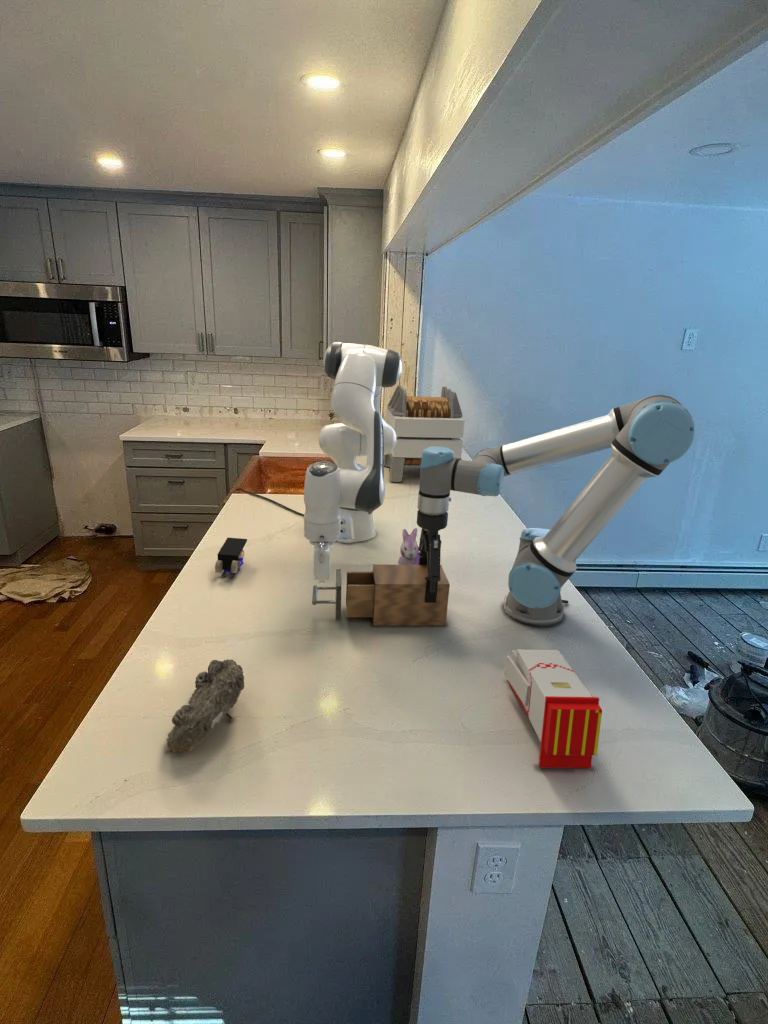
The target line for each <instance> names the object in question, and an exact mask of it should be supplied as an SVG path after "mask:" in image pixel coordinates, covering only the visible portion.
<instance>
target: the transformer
mask: <svg viewBox="0 0 768 1024" xmlns="http://www.w3.org/2000/svg"><path fill="white" fill-rule="evenodd" d="M440 393H441V394H440V396H415V395H414V396H413V395H412V396H411V395H407V394H408V393H407V390H406V389H404V388H403V387H402V385H399V384H398V385H397V386H396V388H395V390H394V392H393V394H392V395H391V398H390V400H389V402H388V404H387V405H386V413H385V414H386V415H385V422H386V423H387V424H389V425H390V426H391V427H392V428H393V429H394V431H395V433H396V436H397V443H396V446H395V449H394V450H393V451H392V452H391V453H390V454H386V455H384V467H388V468H389V475H388V476H389V477H388V478H389V480H390V482H391V483H402V482H403V475H404V469H405V466H406V467H407V466H411V467H412V466H413V467H415V466H416V467H417V466H418V467H420V466H421V459H422V452H423V450H424V449H426V448H428V447H445V448H449V449H451V450H452V451H453V456H454V458H455V459H460V460H463V459H462V453H463V442H464V441H463V440H462V439H463V438H464V431H465V430H464V429H465V419H464V418H463V411H462V408H461V405H460V402H459V398H458V395H457V392H455V391H453V390H452V389H451V388H447V386H442V387H441V392H440Z"/></svg>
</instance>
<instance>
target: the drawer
mask: <svg viewBox="0 0 768 1024" xmlns="http://www.w3.org/2000/svg"><path fill="white" fill-rule="evenodd" d="M345 586H346V588H345V610H346V618H372V617H374V599H375V582H374V575H373V572H372V571H346V585H345ZM318 590H323V591H326V590H327V591H328V590H329V591H335V599H334V600H318ZM311 595H312V596H311V597H312V598H311V604H312V605H313V606H316V605H320V604H321V605H322V604H325V605H327V604H329V605H333V604H334V605H335V606H334V608H335V622H340V621H341V619H342V617H341V616H342V614H341V613H342V569H341V568H336V569H335V586H317V585H316V584H314V585H313V586H312V594H311Z"/></svg>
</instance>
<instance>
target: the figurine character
mask: <svg viewBox="0 0 768 1024" xmlns="http://www.w3.org/2000/svg"><path fill="white" fill-rule="evenodd" d="M247 542H248V538H240V537H226V539H225V541H224V543H223V544H222V546H221V547H220V549H219V551H218V552H217V560H216V562H215V564H214V572H215V573H221V577H222V578H224V577H225V576H226V574H227V573H230V574H231V573H232V574H231V578H234V577H235V575H236V573H237V572H239V571H240V567H242V566H243V565H244V564H245V562H244V558H245V551H244V547H245V546H246V544H247Z"/></svg>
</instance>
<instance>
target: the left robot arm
mask: <svg viewBox="0 0 768 1024" xmlns="http://www.w3.org/2000/svg"><path fill="white" fill-rule="evenodd" d="M323 367H324V368H323V369H324V373H325V374H326V375H327V376H328V377H329V378H331V379H333V380H334V383H333V386H332V391H331V397H330V408H331V412H332V415H334V417H335V418H336V419H337V420H338V421H339V422H335V423H330V424H325V425H323V427H322V428H321V430H320V432H319V435H318V445H319V447H320V449H321V451H322V452H323V453H324V454H325V455H326V456H328V457H329V458H330V459H331V460H332V461H328V460H319V461H315V462H312V463H311V464H309V465H308V467H307V468H306V471H305V476H304V482H303V483H304V485H303V503H304V506H305V510H304V513H302V512H299V511H296V510H295V509H293V508H291V507H288V506H285V505H283V504H282V503H279V502H278V501H275V500H273V499H271V498H268V497H266V496H263V495H260V494H257V493H255V492H251V491H248V490H245V489H243V488H240V487H238V488H236V489H235V491H236V492H237V491H241V492H243V493H246V494H248V495H253V496H256V497H258V498H261V499H264V500H266V501H269V502H271V503H274V504H276V505H278V506H279V507H282V508H284V509H285V510H288V511H290V512H292V513H294V514H297V515H299V516H302V517H303V536H304V538H305V539H306V540H308V542H309V544H310V545H312V546H313V565H312V566H313V573H312V574H313V576H312V577H313V580H314V581H317V582H318V583H319V584H320V583H322V584H324V583H326V581H328V580H329V579H330V559H331V558H330V553H331V551H330V549H331V546H333V545H334V544H335V543H336V542H339V543H343V544H352V543H357V542H365V541H368V540H372V539H373V538H375V537H376V535H377V532H376V528H375V523H374V513H373V512H375V511H376V510H377V509H378V508H380V507H381V506H382V505H384V501H385V496H386V485H385V475H384V474H385V473H384V472H385V471H384V469H385V468H384V467H385V466H384V455H386V454H390V453H391V452H392V451H393V450H394V449H395V446H396V443H397V436H396V433H395V431H394V429H393V428H392V427H391V426H390V425H389V424H387V423H386V420H385V419H384V418H383V416H382V413H381V396H382V388H392V387H394V386H395V385H397V382H398V381H399V380H400V377H401V375H402V372H403V363H402V357H401V355H400V354H399V352H397V351H395V350H392V349H390V348H388V349H387V348H386V349H385V348H383V347H379V346H375V345H371V344H360V343H353V342H351V343H349V342H344V341H334V342H331V344H329V345H328V346H327V349H326V351H325V352H324V355H323ZM358 457H366V466H364V465H362V464H360V463H359V462H357V461H356V459H357V458H358Z"/></svg>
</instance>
